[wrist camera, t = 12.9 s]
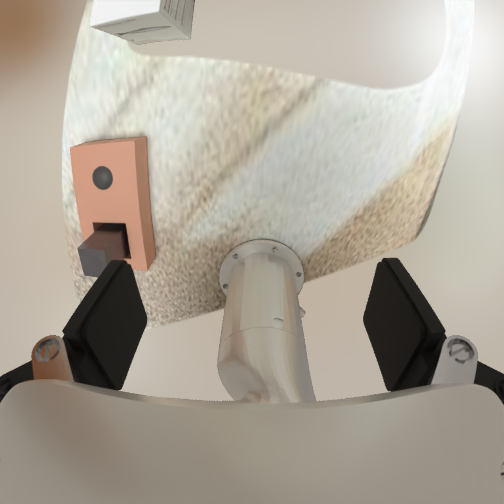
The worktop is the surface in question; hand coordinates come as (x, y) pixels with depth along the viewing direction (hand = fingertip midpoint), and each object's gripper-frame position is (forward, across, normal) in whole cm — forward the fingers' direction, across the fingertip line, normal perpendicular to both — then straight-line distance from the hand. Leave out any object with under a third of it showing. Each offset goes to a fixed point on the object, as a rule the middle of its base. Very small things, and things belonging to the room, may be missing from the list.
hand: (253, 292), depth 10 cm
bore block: (+27, +20, +5) cm, 34 cm away
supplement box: (+28, +11, -20) cm, 36 cm away
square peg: (+27, +20, +10) cm, 35 cm away
